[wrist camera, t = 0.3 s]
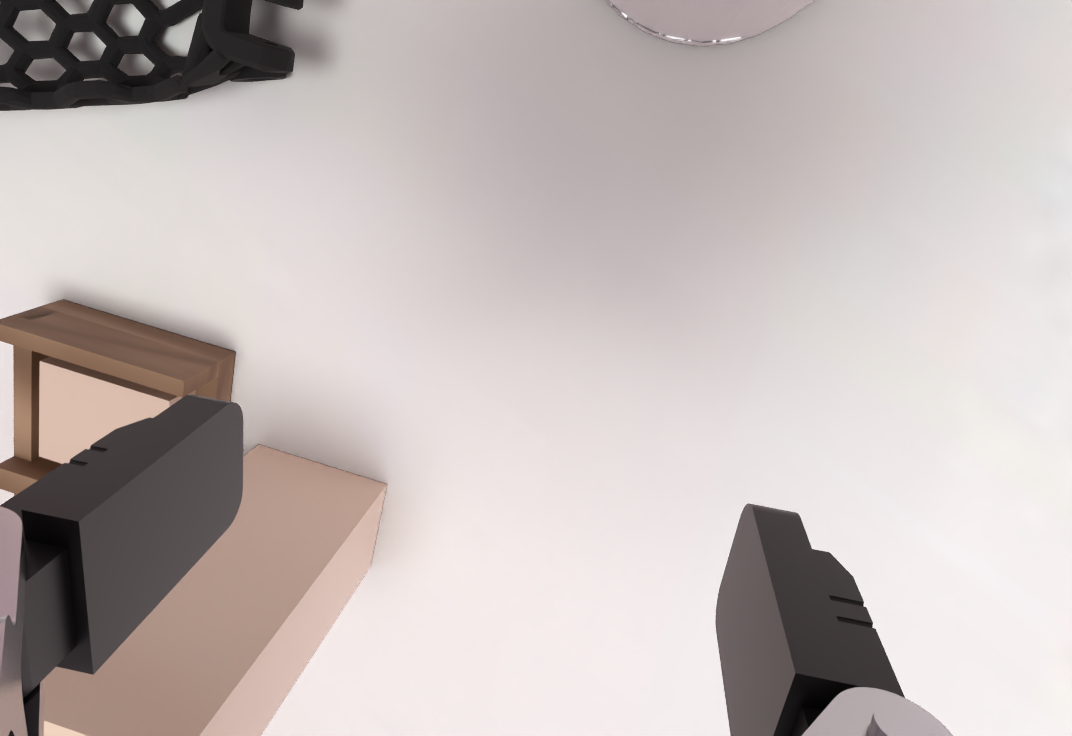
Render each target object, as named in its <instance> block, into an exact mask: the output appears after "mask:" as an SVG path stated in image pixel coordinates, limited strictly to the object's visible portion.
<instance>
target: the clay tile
mask: <svg viewBox="0 0 1072 736" xmlns="http://www.w3.org/2000/svg"><path fill="white" fill-rule="evenodd" d="M190 394H191V395H196V390H195V391H193V392H191V393H190ZM190 394H188V395H190ZM181 398H183V397H180V396H176V395H173V394H170V393H167V392H163V391H160V390H157V389H154V388H151V387H147V386H144V385H141V384H138V383H134V382H131V381H128V380H125V379H122V378H118V377H115V376H112V375H109V374H105V373H102V372H99V371H96V370H93V369H89V368H86V367H83V366H80V365H76V364H73V363H70V362H67V361H63V360H60V359H57V358H54V357H48V358H46V359H43V360H41V361H40V376H39V457H43V458H46V459H49V460H52V461H55V462H58V463H61V464H64V463H69V462H70V459H71V458H73V457H74V456H76V455H77V454H79V453H80V452H82V451H83V450H85V449H90V447H91V445H92V444H94V443H95V442H97V441H98V440H100V439H101V438H103V437H104V436H106V435H107V434H109V433H110V432H112V431H113V430H115V429H117V428H120V427H123V426H126V425H129V424H132V423H134V422H137V421H140V420H143V419H146V418H149V417H150V418H154V417H155V416H157V415H158V414H160V413H161V412H163V411H164V410H166V409H167V408H168V407H170V406H171V405H173V404H174V403H176V402H177V401H179V400H180V399H181Z"/></svg>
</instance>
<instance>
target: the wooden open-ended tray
mask: <svg viewBox="0 0 1072 736" xmlns="http://www.w3.org/2000/svg"><path fill="white" fill-rule="evenodd" d="M0 341H2V342H5V343H9V344H12V345H14V457H12V458H10V459H8V460H6V461H4V462H2V463H0V489H3V490H6V491H9V492H12V493H14V496H15V495H17V494H18V493H20V492H21V491H23V490H24V489H26V488H27V487H29V486H30V485H32V484H33V483H35V482H36V481H38V480H39V479H41V478H42V477H44V476H45V475H47V474H48V473H50V472H51V471H53V470H54V469H56V468H58V467H59V466H61V465H62V464H61V463H58V462H55V461H52V460H49V459H46V458H43V457H39V376H40V361H41V360H43V359H46V358H48V357H54V358H57V359H60V360H63V361H67V362H70V363H73V364H76V365H80V366H83V367H86V368H89V369H93V370H96V371H99V372H102V373H105V374H109V375H112V376H115V377H118V378H122V379H125V380H128V381H131V382H134V383H138V384H141V385H144V386H147V387H151V388H154V389H157V390H160V391H163V392H167V393H170V394H173V395H176V396H180V397H185V396H186V395H188V394H190V393H191V392H193V391H195V390H196V395H197V396H203V397H208V398H213V399H218V400H223V401H228V402H230V398H231V389H232V380H233V370H234V361H235V352H234V351H230V350H227V349H224V348H220V347H217V346H214V345H211V344H207V343H204V342H201V341H197V340H194V339H191V338H188V337H184V336H181V335H178V334H174V333H171V332H168V331H165V330H161V329H158V328H155V327H151V326H148V325H145V324H141V323H138V322H135V321H132V320H128V319H125V318H122V317H118V316H115V315H112V314H109V313H105V312H102V311H99V310H95V309H92V308H89V307H86V306H82V305H79V304H76V303H72V302H69V301H66V300H59V301H56V302H53V303H50V304H47V305H44V306H40V307H37V308H34V309H31V310H28V311H25V312H22V313H18V314H15V315H12V316H9V317H6V318H3V319H0Z"/></svg>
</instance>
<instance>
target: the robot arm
mask: <svg viewBox="0 0 1072 736" xmlns="http://www.w3.org/2000/svg"><path fill="white" fill-rule="evenodd" d="M606 1H607V2H608V3H609V5H610V6H611V7H612V8H614V9H615V10H616V12H617V13H618V14H619V15H621V16H622V17H623V18H625V19H626V20H628V21H629V22H631V23H632V24H634V25H635V26H637V27H638V28H639V29H641V30H642V31H644V32H646V33H649V34H652V35H654V36H657V37H659V38H662V39H664V40H667V41H670V42H674V43H681V44H689V45H696V46H707V45H719V44H730V43H734V42H737V41H740V40H743V39H746V38H750V37H753V36H756V35H759V34H762V33H763V32H765V31H767V30H769V29H771V28H772V27H774V26H776V25H778V24H780V23H782V22H783V21H785V20H787V19H789V18H790V17H792V16H793V15H794V14H796V13H797V12H798V11H800V10H801V9H802V8H804V7H805V6H807V5H809V4H810V3H811V2H813V1H814V0H606ZM242 494H243V414H242V410H241V408H240V406H239V405H238V404H237V403H234V402H228V401H223V400H218V399H213V398H208V397H203V396H197V395H191V394H190V395H186V396H185V397H183V398H181V399H180V400H179V401H177V402H176V403H174V404H173V405H171V406H170V407H168V408H167V409H166V410H164V411H163V412H161V413H160V414H158V415H157V416H155V417H154V418H150V417H149V418H146V419H143V420H140V421H137V422H134V423H132V424H129V425H126V426H123V427H120V428H117V429H115V430H113V431H112V432H110V433H109V434H107V435H106V436H104V437H103V438H101V439H100V440H98V441H97V442H95V443H94V444H92V445H91V447H90V449H85V450H83V451H82V452H80V453H79V454H77V455H76V456H74V457H73V458H71V459H70V462H69V463H64V464H62V465H61V466H59V467H58V468H56V469H54V470H53V471H51V472H50V473H48V474H47V475H45V476H44V477H42V478H41V479H39V480H38V481H36V482H35V483H33V484H32V485H30V486H29V487H27V488H26V489H24V490H23V491H21V492H20V493H18V494H17V495H15V496H14V497H12V498H11V499H9V500H8V501H6V502H5V503H3V504H2V505H0V736H44V691H43V683H42V680H43V679H44V678H45V677H46V676H47V675H48V674H49V673H50V672H51V671H52V670H53V669H54V668H55V667H60V668H65V669H69V670H74V671H78V672H83V673H87V674H92V675H94V674H95V673H96V671H97V670H98V669H99V668H100V667H101V666H102V665H103V664H104V663H105V662H106V661H107V660H108V658H109V657H110V656H111V655H112V654H113V653H114V652H115V651H116V650H117V649H118V648H119V646H120V645H121V644H122V643H123V642H124V641H125V640H126V639H127V638H128V637H129V636H130V635H131V633H132V632H133V631H134V630H135V629H136V628H137V627H138V626H139V625H140V624H141V623H142V621H143V620H144V619H145V618H146V617H147V616H148V615H149V614H150V613H151V612H152V611H153V610H154V608H155V607H156V606H157V605H158V604H159V603H160V602H161V601H162V600H163V599H164V598H165V597H166V595H167V594H168V593H169V592H170V591H171V590H172V589H173V588H174V587H175V586H176V585H177V583H178V582H179V581H180V580H181V579H182V578H183V577H184V576H185V575H186V574H187V573H188V572H189V570H190V569H191V568H192V567H193V566H194V565H195V564H196V563H197V562H198V561H199V560H200V558H201V557H202V556H203V555H204V554H205V553H206V552H207V551H208V550H209V549H210V548H211V547H212V545H213V544H214V543H215V542H216V541H217V540H218V539H219V538H220V537H221V536H222V535H223V534H224V532H225V531H226V530H227V529H228V528H229V527H230V526H231V524H232V522H233V521H234V519H235V517H236V515H237V513H238V510H239V507H240V504H241V500H242ZM863 604H864V601H863V599H862V597H861V594H860V592H859V590H858V587H857V585H856V583H855V580H854V578H853V576H852V575H851V574H850V573H849V572H848V571H847V570H846V569H845V568H844V567H843V566H842V565H841V564H840V563H839V562H838V561H837V560H836V559H835V558H834V557H833V556H832V555H831V553H829V552H824V551H819V550H814V549H812V548H811V545H810V542H809V540H808V537H807V534H806V532H805V529H804V526H803V523H802V521H801V518H800V516H799V514H798V513H795V512H790V511H784V510H779V509H774V508H769V507H764V506H759V505H754V504H747V505H746V506H745V507H744V509H743V511H742V514H741V517H740V520H739V523H738V527H737V530H736V533H735V537H734V540H733V544H732V547H731V551H730V554H729V557H728V561H727V564H726V568H725V571H724V575H723V578H722V582H721V585H720V589H719V594H718V599H717V607H716V632H717V640H718V647H719V654H720V661H721V669H722V676H723V683H724V690H725V698H726V705H727V712H728V719H729V726H730V734H731V736H953V735H952V734H951V733H950V731H949V730H948V729H947V728H946V727H945V726H944V725H943V724H942V723H941V722H940V721H939V720H937V719H936V718H935V717H934V716H933V715H931V714H930V713H929V712H927V711H926V710H924V709H923V708H922V707H920V706H919V705H917V704H915V703H913V702H911V701H910V700H908V699H906V698H905V697H904V695H903V692H902V690H901V688H900V685H899V683H898V681H897V678H896V676H895V674H894V671H893V669H892V667H891V664H890V662H889V660H888V657H887V655H886V653H885V650H884V648H883V646H882V643H881V641H880V639H879V636H878V634H877V632H876V629H874V628H872V625H873V622H872V620H871V618H870V615H869V613H868V611H867V608H866V607H863Z"/></svg>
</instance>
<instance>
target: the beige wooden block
mask: <svg viewBox="0 0 1072 736" xmlns="http://www.w3.org/2000/svg"><path fill="white" fill-rule="evenodd" d="M386 488H387V484H384V483H381V482H377V481H374V480H371V479H368V478H365V477H361V476H358V475H355V474H352V473H349V472H345V471H342V470H339V469H336V468H333V467H329V466H326V465H323V464H320V463H317V462H313V461H310V460H307V459H304V458H301V457H297V456H294V455H291V454H288V453H285V452H281V451H278V450H275V449H272V448H269V447H265V446H262V445H259V444H258V445H257V446H256V447H255V448H253V449H252V450H251V451H250V452H249V453H247V454H246V455H245V456H244V457H243V494H242V500H241V504H240V507H239V510H238V513H237V515H236V517H235V519H234V521H233V522H232V524H231V526H230V527H229V528H228V529H227V530H226V531H225V532H224V534H223V535H222V536H221V537H220V538H219V539H218V540H217V541H216V542H215V543H214V544H213V545H212V547H211V548H210V549H209V550H208V551H207V552H206V553H205V554H204V555H203V556H202V557H201V558H200V560H199V561H198V562H197V563H196V564H195V565H194V566H193V567H192V568H191V569H190V570H189V572H188V573H187V574H186V575H185V576H184V577H183V578H182V579H181V580H180V581H179V582H178V583H177V585H176V586H175V587H174V588H173V589H172V590H171V591H170V592H169V593H168V594H167V595H166V597H165V598H164V599H163V600H162V601H161V602H160V603H159V604H158V605H157V606H156V607H155V608H154V610H153V611H152V612H151V613H150V614H149V615H148V616H147V617H146V618H145V619H144V620H143V621H142V623H141V624H140V625H139V626H138V627H137V628H136V629H135V630H134V631H133V632H132V633H131V635H130V636H129V637H128V638H127V639H126V640H125V641H124V642H123V643H122V644H121V645H120V646H119V648H118V649H117V650H116V651H115V652H114V653H113V654H112V655H111V656H110V657H109V658H108V660H107V661H106V662H105V663H104V664H103V665H102V666H101V667H100V668H99V669H98V670H97V671H96V673H95V674H94V675H92V674H87V673H83V672H78V671H74V670H69V669H65V668H60V667H55V668H54V669H53V670H52V671H51V672H50V673H49V674H48V675H47V676H46V677H45V678H44V679H43V680H42V683H43V691H44V736H261V735H262V733H263V731H264V730H265V728H266V727H267V725H268V724H269V722H270V721H271V719H272V718H273V716H274V715H275V713H276V711H277V710H278V708H279V707H280V705H281V704H282V702H283V701H284V699H285V698H286V696H287V695H288V693H289V691H290V690H291V688H292V687H293V685H294V684H295V682H296V681H297V679H298V678H299V676H300V675H301V673H302V671H303V670H304V668H305V667H306V665H307V664H308V662H309V661H310V659H311V658H312V656H313V655H314V653H315V651H316V650H317V648H318V647H319V645H320V644H321V642H322V641H323V639H324V638H325V636H326V635H327V633H328V631H329V630H330V628H331V627H332V625H333V624H334V622H335V621H336V619H337V618H338V616H339V615H340V613H341V611H342V610H343V608H344V607H345V605H346V604H347V602H348V601H349V599H350V598H351V596H352V595H353V593H354V591H355V590H356V588H357V587H358V585H359V584H360V582H361V581H362V579H363V578H364V576H365V575H366V573H367V571H368V570H369V568H370V567H371V562H372V557H373V552H374V547H375V542H376V537H377V532H378V528H379V523H380V518H381V513H382V508H383V503H384V498H385V493H386Z"/></svg>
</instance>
